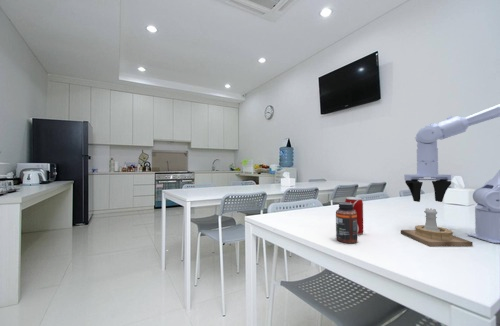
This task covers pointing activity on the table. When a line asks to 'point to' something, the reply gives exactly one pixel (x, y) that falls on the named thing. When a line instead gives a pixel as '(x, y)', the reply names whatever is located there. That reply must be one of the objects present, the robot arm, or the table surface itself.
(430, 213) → the rook chess piece
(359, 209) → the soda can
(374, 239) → the table surface
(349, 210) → the supplement bottle
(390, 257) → the table surface
